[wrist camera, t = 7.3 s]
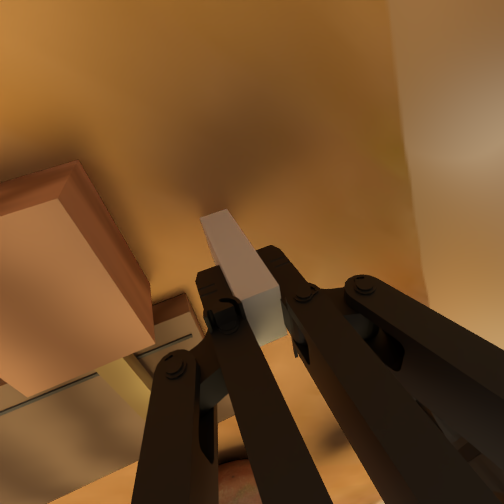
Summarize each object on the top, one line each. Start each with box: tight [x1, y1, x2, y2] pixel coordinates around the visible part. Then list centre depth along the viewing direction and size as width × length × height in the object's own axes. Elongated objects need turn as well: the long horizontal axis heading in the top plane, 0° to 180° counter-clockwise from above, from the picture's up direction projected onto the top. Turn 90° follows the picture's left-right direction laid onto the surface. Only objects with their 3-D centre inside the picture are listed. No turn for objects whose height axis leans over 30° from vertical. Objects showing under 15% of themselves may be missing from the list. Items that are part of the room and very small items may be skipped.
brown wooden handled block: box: [0, 160, 156, 422], centre depth 16 cm, size 6×16×5 cm, turn 12°
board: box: [0, 294, 235, 504], centre depth 20 cm, size 30×14×2 cm, turn 101°
